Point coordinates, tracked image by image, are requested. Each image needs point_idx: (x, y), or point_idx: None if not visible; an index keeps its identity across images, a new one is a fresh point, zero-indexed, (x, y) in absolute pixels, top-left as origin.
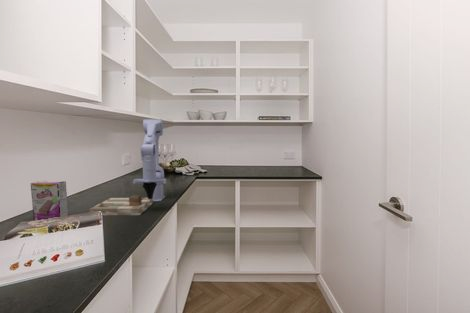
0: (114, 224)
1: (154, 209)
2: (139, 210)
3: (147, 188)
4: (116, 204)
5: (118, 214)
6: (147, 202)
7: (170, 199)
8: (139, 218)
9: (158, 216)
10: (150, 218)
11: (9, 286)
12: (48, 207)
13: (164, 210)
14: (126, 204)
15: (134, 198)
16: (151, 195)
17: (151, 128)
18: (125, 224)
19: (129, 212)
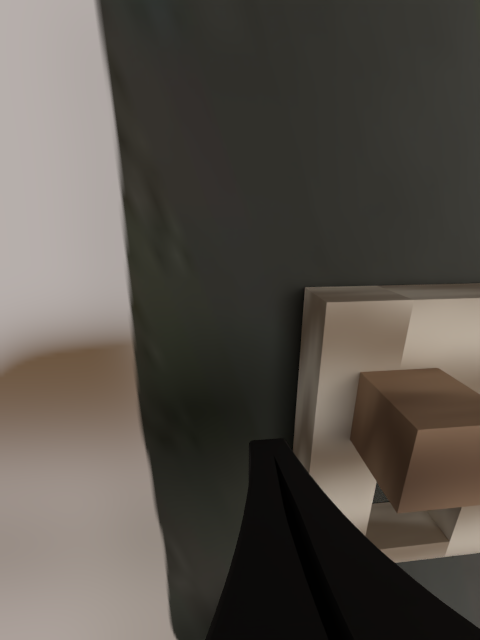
0: (461, 39)
1: (232, 412)
2: (322, 296)
3: (347, 595)
4: None
5: (475, 285)
6: (308, 472)
7: (193, 595)
8: (283, 200)
9: (130, 249)
10: (183, 196)
11: None
12: None
13: (141, 394)
14: None
15: (451, 418)
16: (249, 478)
17: None
18: (363, 28)
19: (401, 290)
